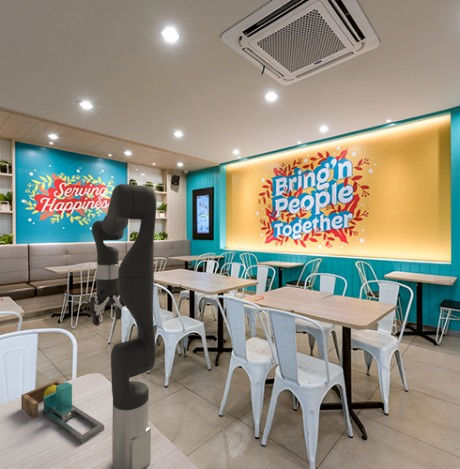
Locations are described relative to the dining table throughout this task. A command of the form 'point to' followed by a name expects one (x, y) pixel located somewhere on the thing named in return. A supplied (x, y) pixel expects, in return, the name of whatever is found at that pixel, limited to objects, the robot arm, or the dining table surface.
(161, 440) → the dining table surface
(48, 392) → the lemon
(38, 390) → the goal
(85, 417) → the rails
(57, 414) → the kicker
